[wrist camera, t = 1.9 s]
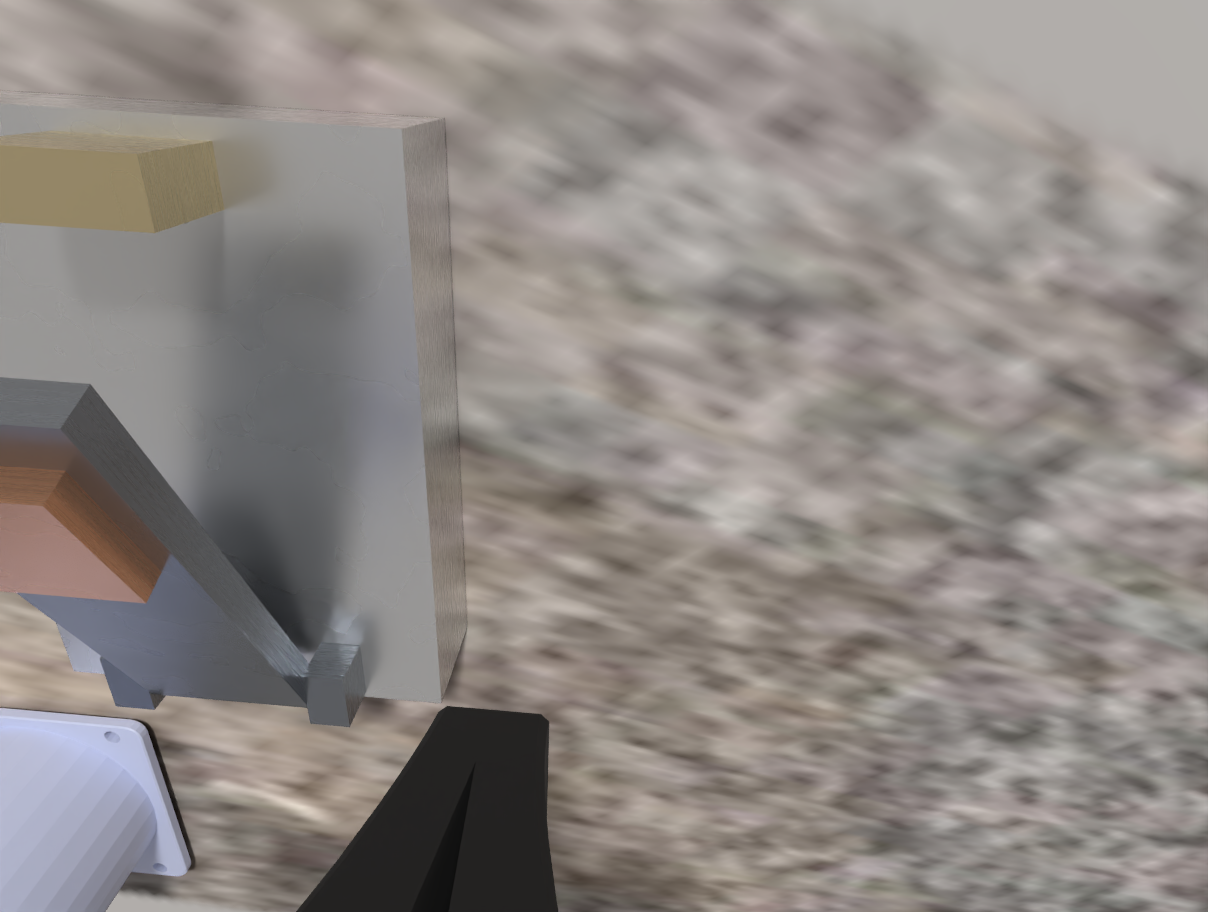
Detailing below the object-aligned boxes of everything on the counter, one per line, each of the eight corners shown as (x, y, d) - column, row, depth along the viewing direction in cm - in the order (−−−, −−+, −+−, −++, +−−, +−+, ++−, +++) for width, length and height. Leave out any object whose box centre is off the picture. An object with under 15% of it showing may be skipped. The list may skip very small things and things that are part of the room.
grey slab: (166, 663, 19) (141, 717, 18) (-190, 363, 10) (-270, 441, 9) (319, 676, 19) (301, 732, 18) (90, 383, 10) (35, 465, 9)
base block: (142, 600, 23) (11, 736, 18) (-12, 89, 16) (-279, 99, 12) (467, 627, 22) (417, 773, 18) (444, 118, 16) (357, 140, 11)
